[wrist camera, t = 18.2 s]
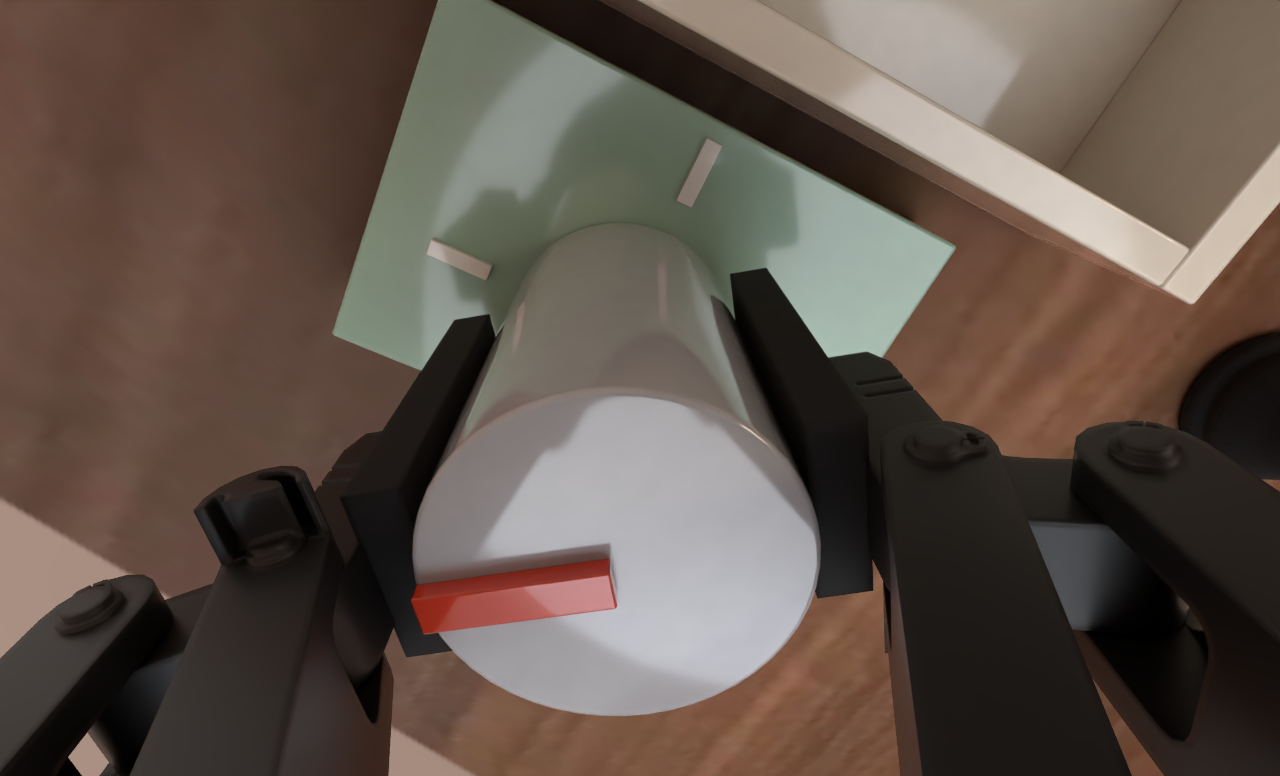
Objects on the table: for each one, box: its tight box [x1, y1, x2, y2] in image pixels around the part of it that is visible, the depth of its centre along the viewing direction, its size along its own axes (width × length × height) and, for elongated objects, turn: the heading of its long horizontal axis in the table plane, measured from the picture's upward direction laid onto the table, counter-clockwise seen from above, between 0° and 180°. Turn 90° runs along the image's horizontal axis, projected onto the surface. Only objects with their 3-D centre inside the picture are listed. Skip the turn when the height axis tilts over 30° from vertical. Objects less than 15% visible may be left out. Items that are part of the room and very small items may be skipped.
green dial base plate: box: [333, 0, 956, 371], centre depth 17 cm, size 12×10×3 cm
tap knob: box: [411, 223, 821, 716], centre depth 12 cm, size 5×5×9 cm
